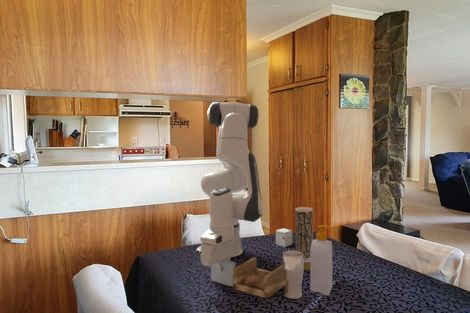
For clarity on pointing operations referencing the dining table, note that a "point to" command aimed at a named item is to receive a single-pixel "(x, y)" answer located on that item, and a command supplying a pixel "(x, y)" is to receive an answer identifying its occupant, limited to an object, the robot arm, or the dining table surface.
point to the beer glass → (293, 273)
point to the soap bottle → (321, 263)
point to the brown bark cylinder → (304, 233)
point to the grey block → (223, 273)
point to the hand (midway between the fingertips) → (222, 270)
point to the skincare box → (284, 237)
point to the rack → (271, 279)
